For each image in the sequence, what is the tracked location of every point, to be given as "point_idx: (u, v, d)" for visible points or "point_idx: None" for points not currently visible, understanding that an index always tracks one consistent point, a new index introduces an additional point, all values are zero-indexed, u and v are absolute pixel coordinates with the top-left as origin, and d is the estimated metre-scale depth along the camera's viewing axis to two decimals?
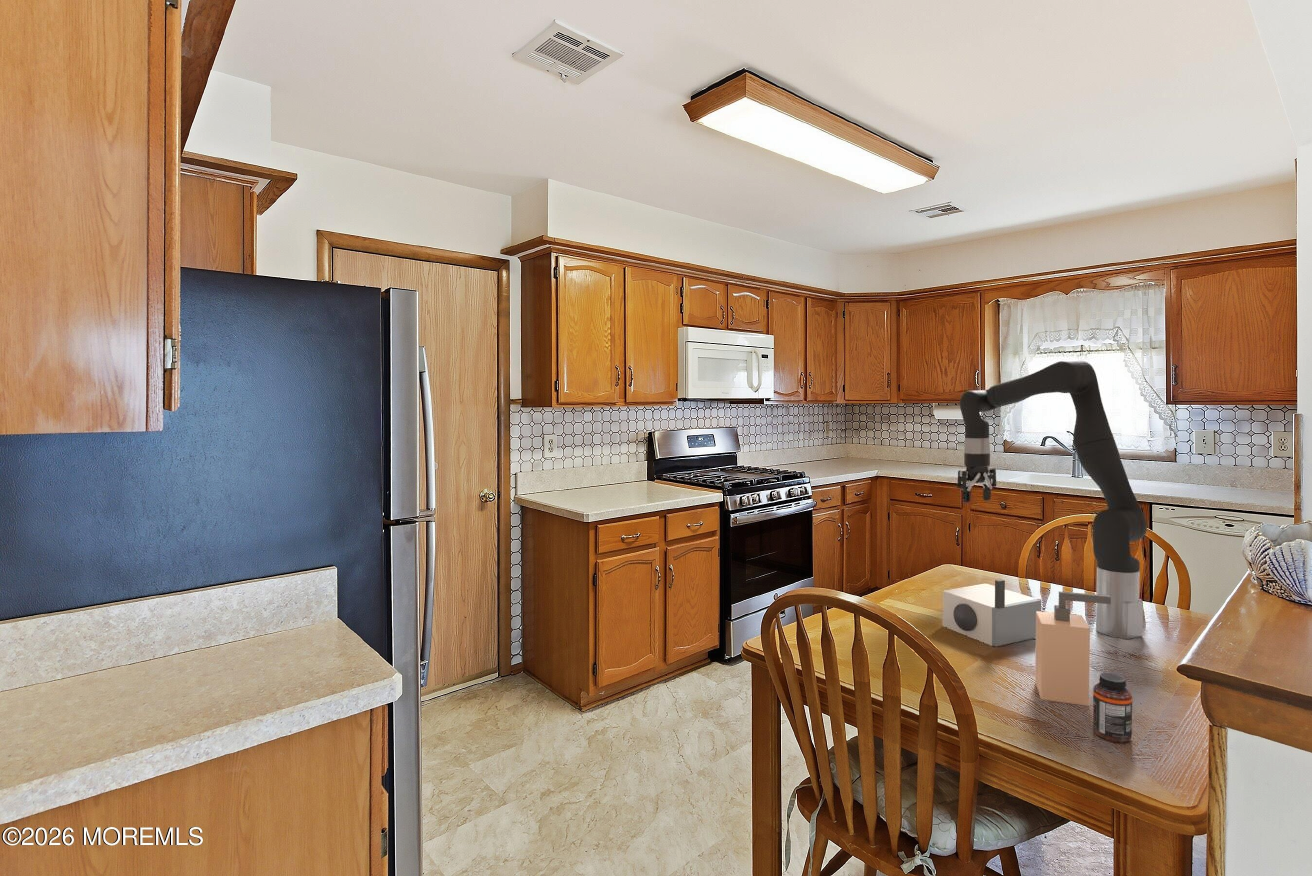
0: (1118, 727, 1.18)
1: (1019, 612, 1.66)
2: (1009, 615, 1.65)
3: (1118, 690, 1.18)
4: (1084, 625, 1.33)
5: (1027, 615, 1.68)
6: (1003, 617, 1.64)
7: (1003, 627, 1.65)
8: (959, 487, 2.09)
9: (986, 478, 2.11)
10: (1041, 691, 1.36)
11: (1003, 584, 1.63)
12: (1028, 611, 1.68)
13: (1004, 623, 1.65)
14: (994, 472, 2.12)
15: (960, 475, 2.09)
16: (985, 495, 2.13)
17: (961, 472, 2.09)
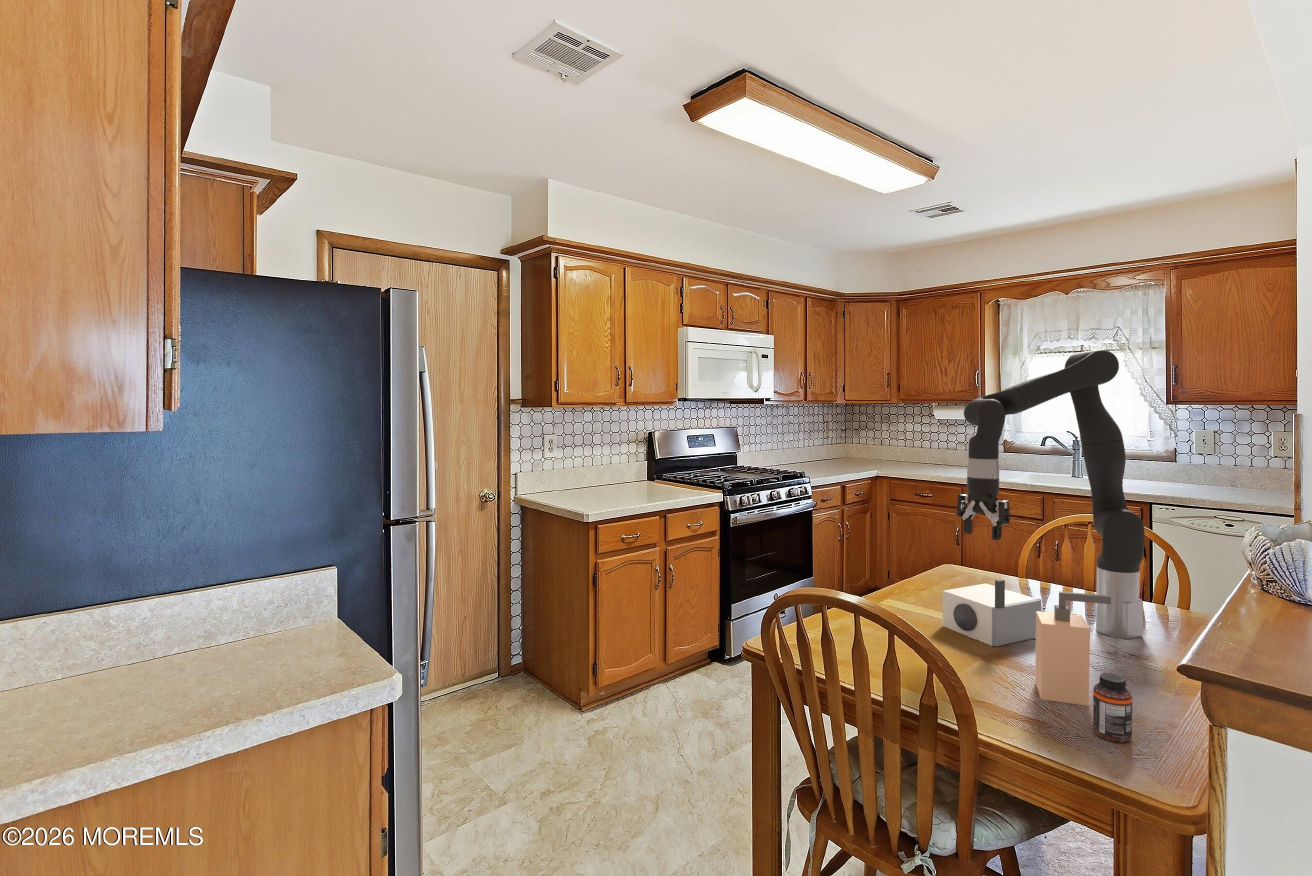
0: (1118, 727, 1.18)
1: (1019, 612, 1.66)
2: (1009, 615, 1.65)
3: (1118, 690, 1.18)
4: (1085, 625, 1.33)
5: (1027, 615, 1.68)
6: (1003, 617, 1.64)
7: (1003, 627, 1.65)
8: None
9: (985, 510, 1.67)
10: (1041, 691, 1.36)
11: (1003, 584, 1.63)
12: (1028, 611, 1.68)
13: (1004, 623, 1.65)
14: (1000, 506, 1.64)
15: None
16: None
17: None
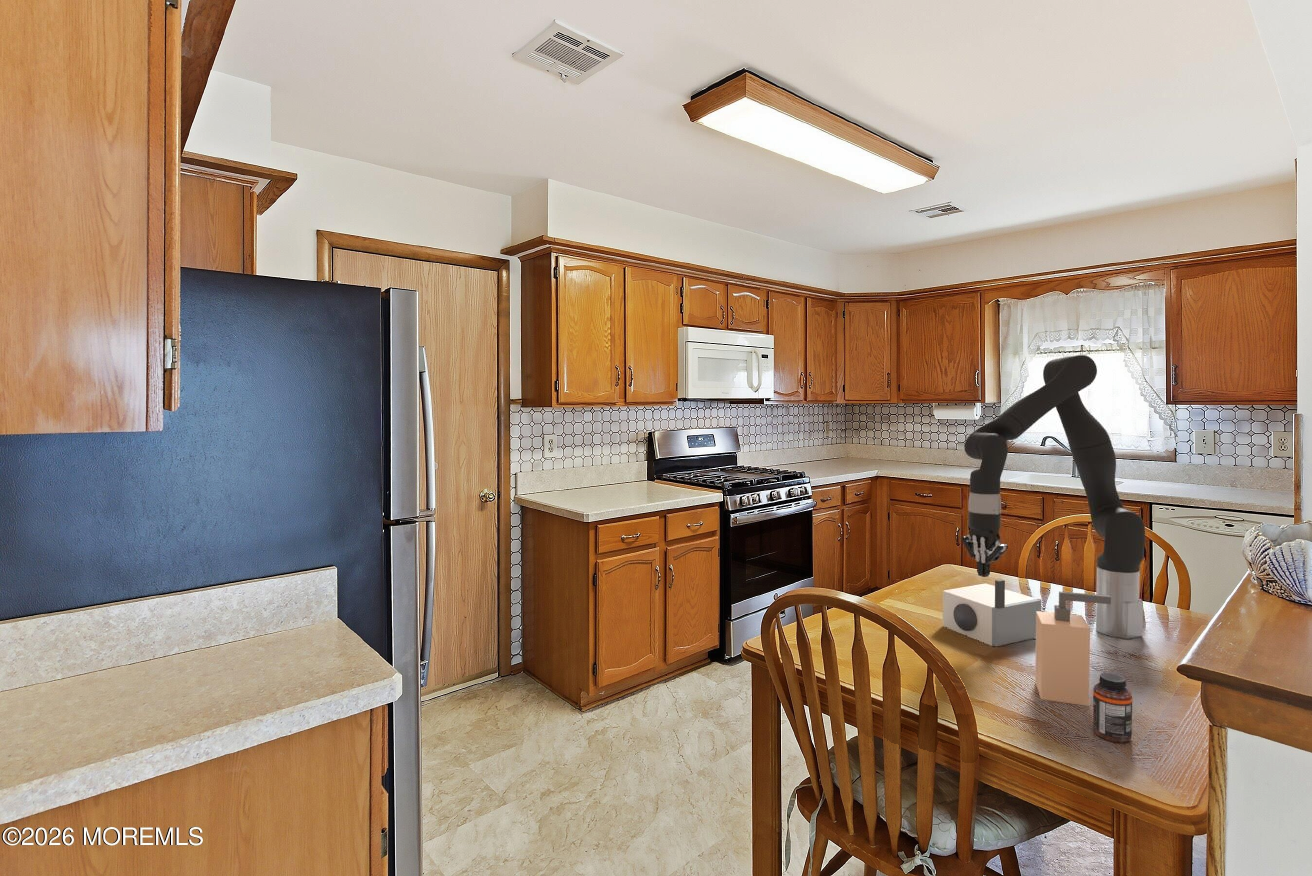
0: (1118, 727, 1.18)
1: (1019, 612, 1.66)
2: (1009, 615, 1.65)
3: (1118, 690, 1.18)
4: (1085, 625, 1.33)
5: (1027, 615, 1.68)
6: (1003, 617, 1.64)
7: (1003, 627, 1.65)
8: None
9: (982, 545, 1.66)
10: (1041, 691, 1.36)
11: (1003, 584, 1.63)
12: (1028, 611, 1.68)
13: (1004, 623, 1.65)
14: (997, 549, 1.63)
15: None
16: None
17: None
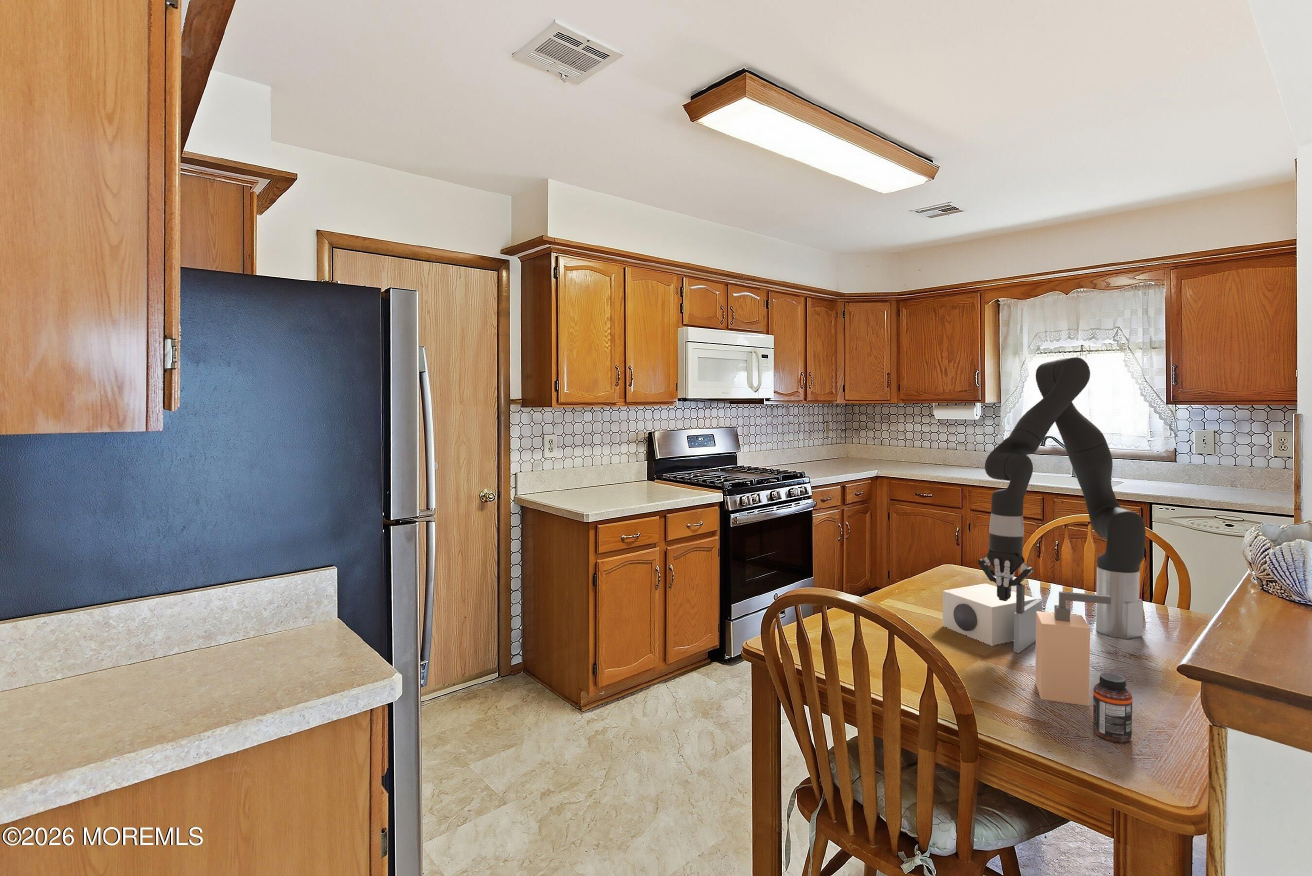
0: (1118, 727, 1.18)
1: (1031, 615, 1.64)
2: (1026, 619, 1.62)
3: (1118, 690, 1.18)
4: (1085, 625, 1.33)
5: (1035, 616, 1.66)
6: (1022, 622, 1.61)
7: (1022, 632, 1.61)
8: None
9: (1006, 569, 1.61)
10: (1041, 691, 1.36)
11: (1023, 588, 1.60)
12: (1035, 612, 1.67)
13: (1023, 628, 1.61)
14: (1025, 572, 1.58)
15: None
16: None
17: None
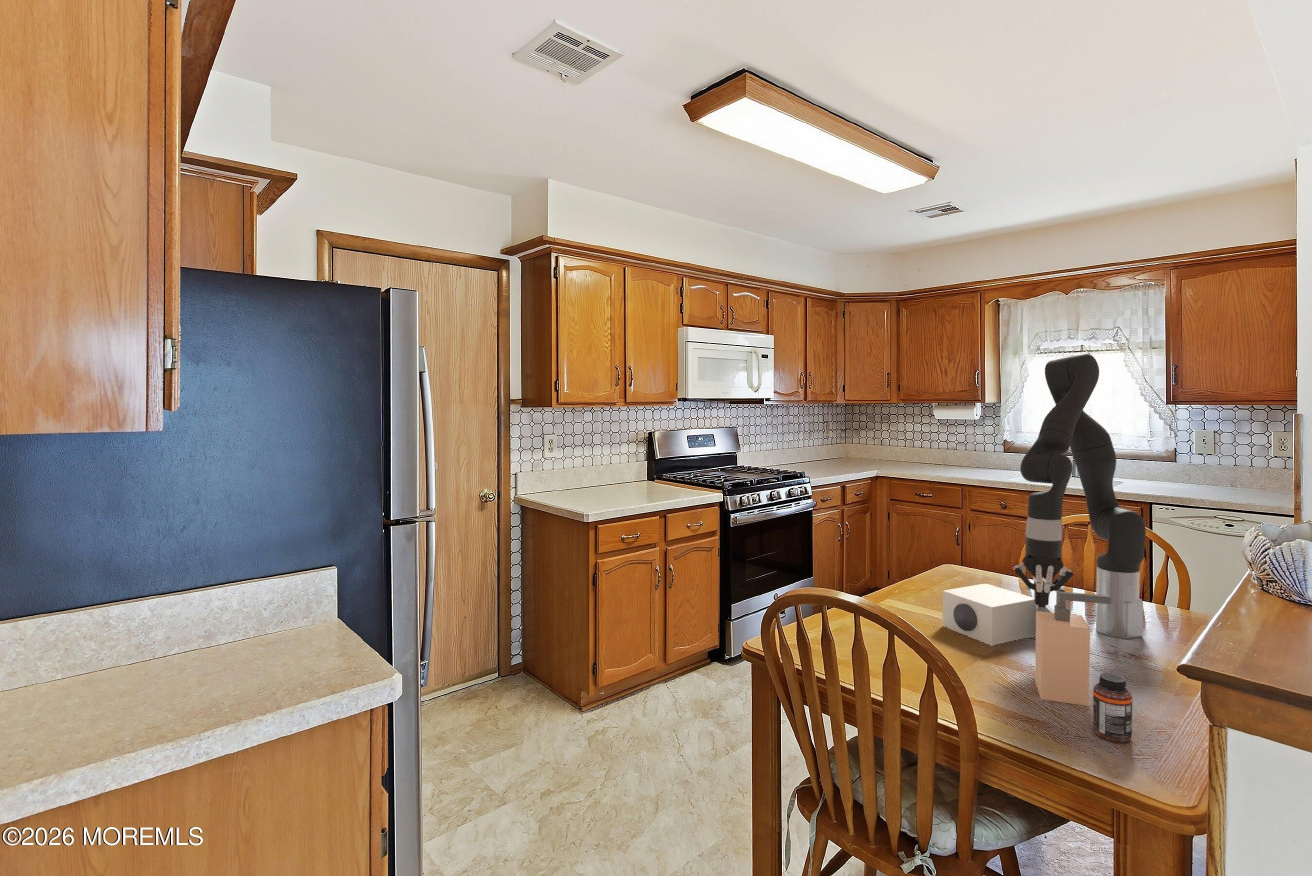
0: (1118, 727, 1.18)
1: None
2: None
3: (1118, 690, 1.18)
4: (1085, 625, 1.33)
5: None
6: None
7: None
8: None
9: (1049, 574, 1.55)
10: (1041, 691, 1.36)
11: None
12: None
13: None
14: (1068, 576, 1.54)
15: None
16: None
17: None
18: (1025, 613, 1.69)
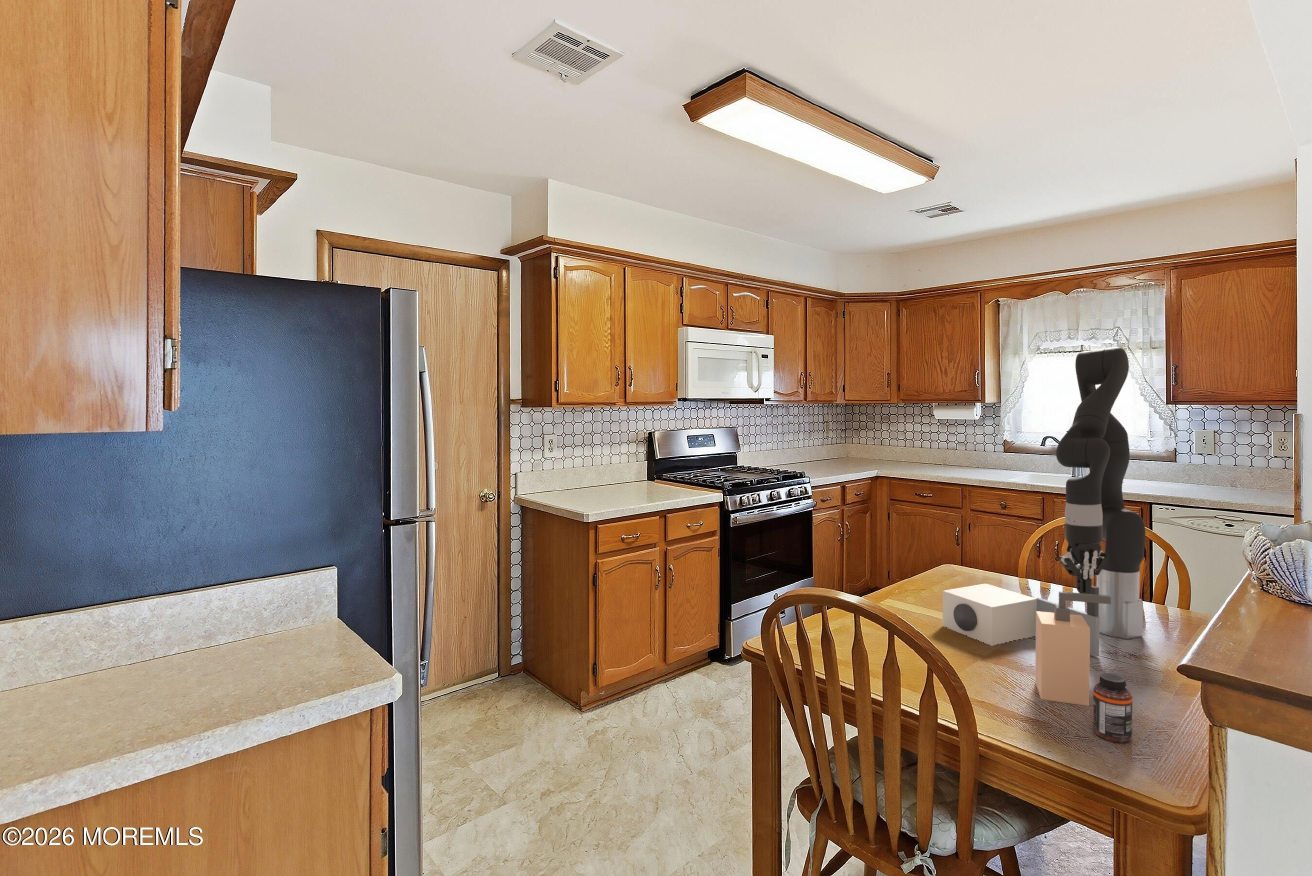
0: (1118, 727, 1.18)
1: None
2: None
3: (1118, 690, 1.18)
4: (1085, 625, 1.33)
5: None
6: None
7: None
8: (1071, 573, 1.55)
9: (1093, 560, 1.53)
10: (1041, 691, 1.36)
11: None
12: None
13: None
14: (1106, 558, 1.55)
15: (1064, 563, 1.54)
16: None
17: (1063, 561, 1.53)
18: (1025, 613, 1.69)
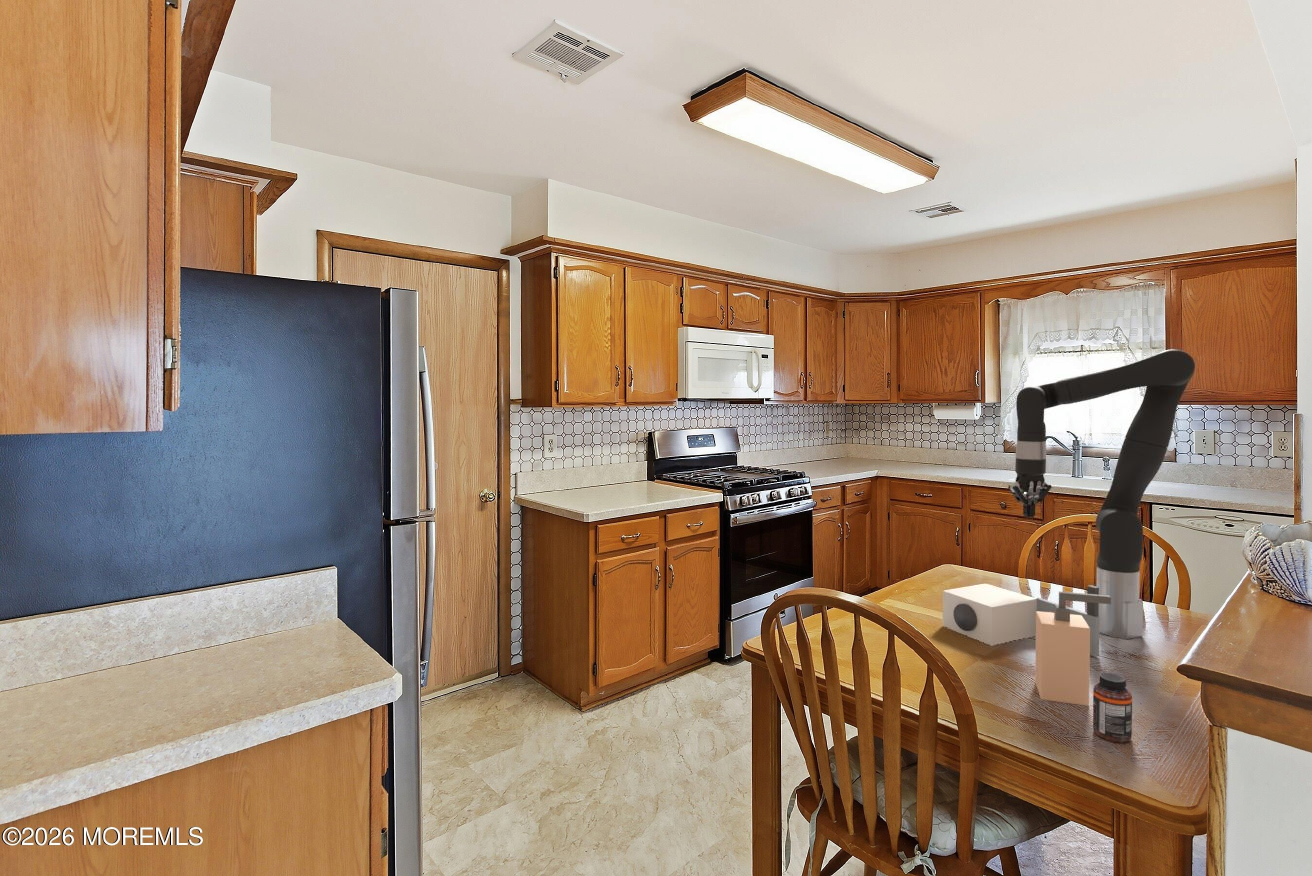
0: (1118, 727, 1.18)
1: None
2: None
3: (1118, 690, 1.18)
4: (1085, 625, 1.33)
5: None
6: None
7: None
8: (1019, 500, 1.85)
9: (1037, 489, 1.83)
10: (1041, 691, 1.36)
11: None
12: None
13: None
14: (1048, 488, 1.85)
15: (1013, 491, 1.84)
16: None
17: (1012, 488, 1.83)
18: (1025, 613, 1.69)
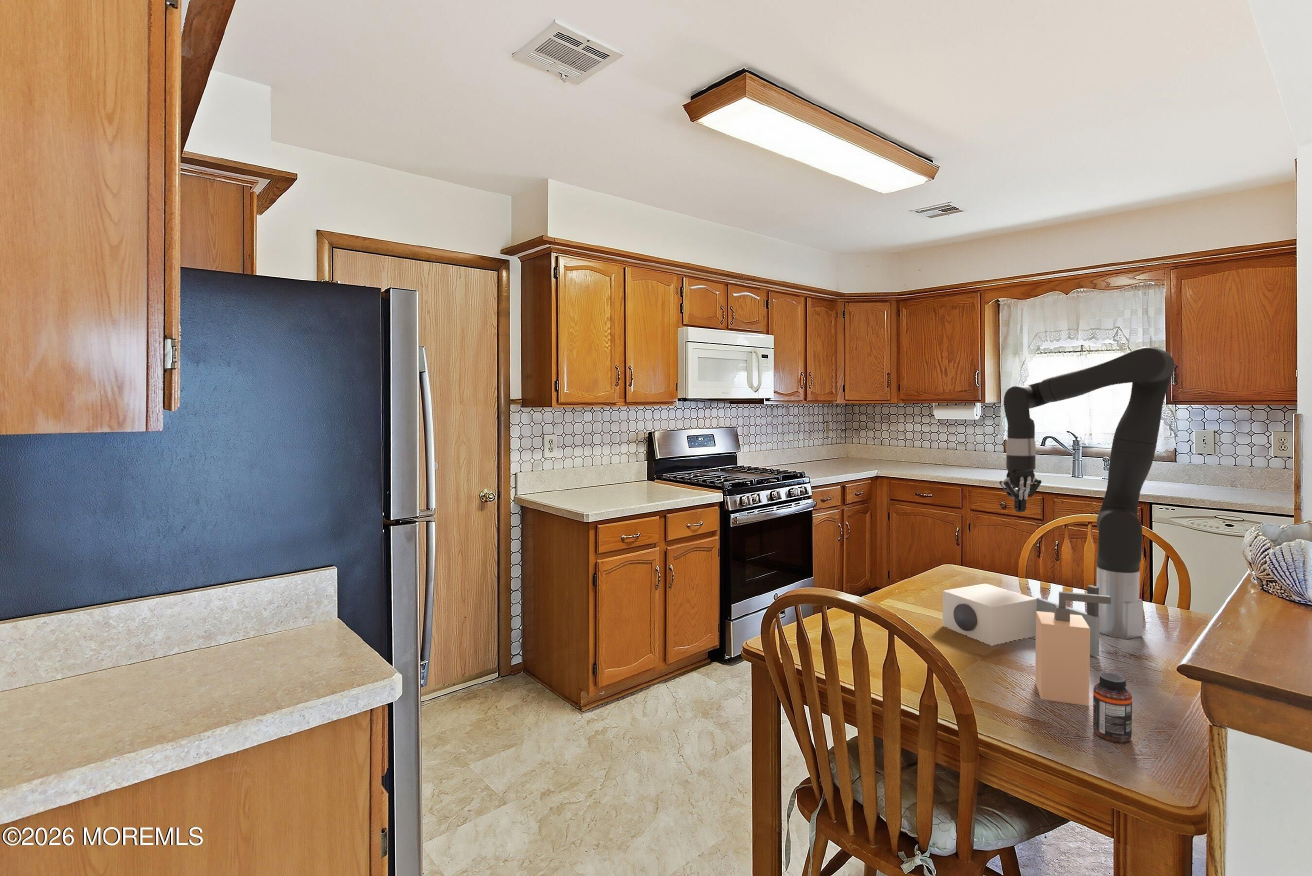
0: (1118, 727, 1.18)
1: None
2: None
3: (1118, 690, 1.18)
4: (1085, 625, 1.33)
5: None
6: None
7: None
8: (1010, 495, 1.91)
9: (1027, 484, 1.90)
10: (1041, 691, 1.36)
11: None
12: None
13: None
14: (1038, 483, 1.91)
15: (1004, 486, 1.91)
16: None
17: (1003, 484, 1.90)
18: (1025, 613, 1.69)
